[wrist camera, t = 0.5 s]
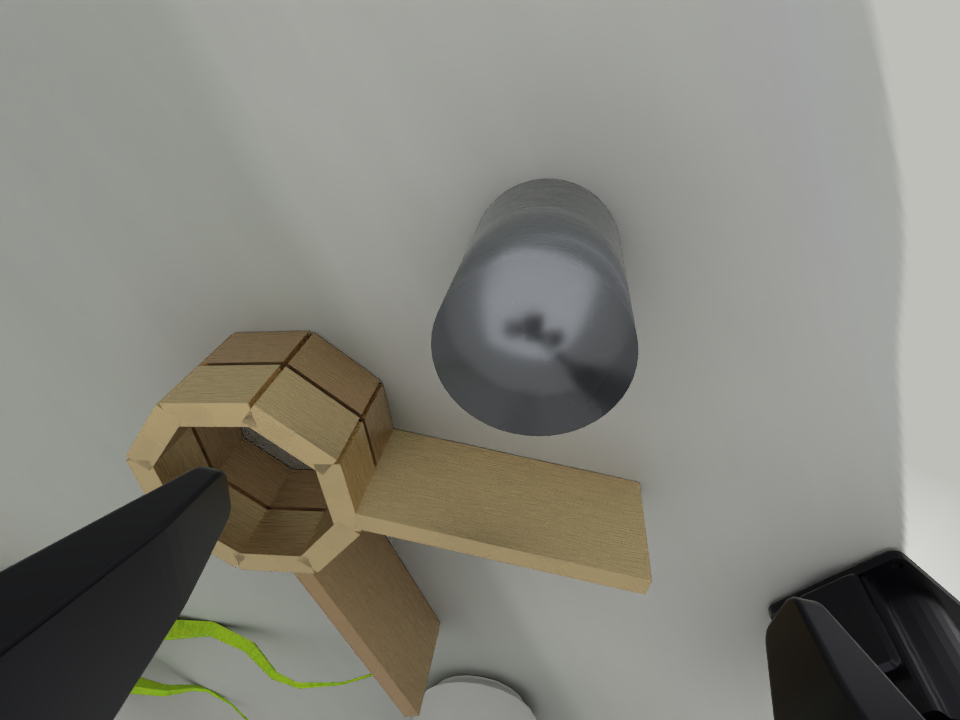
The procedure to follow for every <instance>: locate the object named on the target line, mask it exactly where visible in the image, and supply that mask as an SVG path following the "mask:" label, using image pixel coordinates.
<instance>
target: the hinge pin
mask: <svg viewBox="0 0 960 720" xmlns="http://www.w3.org/2000/svg"><path fill="white" fill-rule="evenodd" d="M431 348H432V357H433V361H434V365H435V369H436V371H437V374H438V376H439V379H440V380H441V382H442V384H443V386H444V388H445V389H446V390H447V392H448V393H449V394H450V396H451V397H452V398H453V399H454V400H455V401H456V402H457V404H458V405H459V406H460V407H462V408H463V409H464V410H465V411H466V412H468V413H469V414H470V415H472V416H473V417H475V418H476V419H478V420H480V421H482V422H484V423H486V424H487V425H489V426H492V427H494V428H497V429H500V430H503V431H506V432H510V433H514V434H520V435H529V436H550V435H557V434H563V433H567V432H571V431H574V430H577V429H580V428H582V427H585V426H587V425H589V424H591V423H593V422H595V421H596V420H598V419H599V418H601V417H602V416H604V415H605V414H606V413H608V412H609V411H610V410H611V409H612V408H613V407H614V406H615V405H616V404H617V403H618V402H619V401H620V399H621V398H622V397H623V395H624V394H625V392H626V391H627V389H628V388H629V386H630V383H631V381H632V379H633V377H634V373H635V370H636V366H637V359H638V340H637V335H636V329H635V324H634V318H633V313H632V307H631V301H630V296H629V290H628V285H627V279H626V274H625V268H624V262H623V257H622V251H621V246H620V240H619V235H618V230H617V227H616V224H615V221H614V219H613V217H612V215H611V214H610V212H609V211H608V209H607V208H606V206H605V205H604V204H603V203H602V202H601V201H600V200H599V199H598V198H597V197H596V196H595V195H594V194H592V193H591V192H590V191H588V190H586V189H585V188H583V187H581V186H579V185H576V184H574V183H571V182H567V181H564V180H557V179H539V180H532V181H528V182H525V183H522V184H519V185H517V186H515V187H513V188H511V189H509V190H508V191H506V192H504V193H503V194H502V195H501V196H499V197H498V198H497V199H496V200H495V201H494V202H493V203H492V204H491V205H490V207H489V208H488V210H487V211H486V212H485V214H484V216H483V218H482V220H481V222H480V224H479V226H478V228H477V230H476V232H475V234H474V237H473V239H472V241H471V243H470V245H469V247H468V249H467V251H466V254H465V256H464V258H463V260H462V262H461V264H460V266H459V269H458V271H457V273H456V275H455V277H454V279H453V281H452V283H451V286H450V288H449V290H448V292H447V294H446V296H445V298H444V301H443V303H442V305H441V307H440V309H439V311H438V314H437V316H436V319H435V322H434V326H433V331H432V341H431Z"/></svg>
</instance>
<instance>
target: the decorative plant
mask: <svg viewBox="0 0 960 720" xmlns="http://www.w3.org/2000/svg"><path fill="white" fill-rule="evenodd" d="M206 636H211V637H213V638H215V639H217V640H220V641H222V642H224V643H226V644H229V645H231V646H233V647H235V648H238V649H240V650H242V651H244V652H246V653H247V654H248V656H249V657H250V658H251V659H252V660H253V661H254V662H255V663H256V664H257V665H258V666H259V667H260V668H261V669H262V670H263V671H264V672H265V673H266V674H267V675H268V676H269V677H270V678H271V679H273V680H276V681H279V682H282V683H285V684H287V685H290V686H293V687H296V688H299V689H303V688H313V687H324V686H335V685H343V684H347V683H350V682H354V681H357V680H360V679H364V678H367V677H371V676H373V675H372V674H369V675H365V676H362V677H359V678H355V679H352V680H348V681H345V682H326V683H297V682H295V681H293V680H291V679H289V678H287V677H285V676H283V675H281V674H279V673H277V671H276V670H275V669H274V667H273V666H272V665H271V664H270V662H269V661H268V660H267V658H266V657H265V656H264V654H263V653H262V652H261V650H260V649H259V648H258V646H257V645H256V644H255V643H254V642H252V641H250V640H248V639H246V638H244V637H242V636H240V635H238V634H236V633H234V632H232V631H230V630H229V629H227V628H225V627H223V626H221V625H219V624H217V623H215V622H213V621H195V620H176V621H175V623H174V625H173V626H172V628H171V629H170V631H169V633H168V634H167V636H166V637H165V639H164V640H173V639H184V638H195V637H206ZM189 691H201V692H208V693H210V694H212V695H214V696H215V697H217V698H219V699H221V700H223V701H224V702H226V703H228V704H230V705H231V706H232V707H233V708H234V709H235V710H236V711H237V712H238V713H239V714H240V715H241V716H242V717H243V718H244V719H245V720H248V719H247V718H246V717H245V716H244V715H243V714H242V713H241V712H240V711H239V710H238V709H237V708H236V707H235V706H234V705H233V704H232V703H230V702H229V701H228V700H226V699H225V698H223V697H222V696H220V695H219V694H218V693H216V692H213V691H211V690H209V689H207V688H204V687H202V686H198V685H165V684H162V683H158V682H155V681H152V680H148V679H145V678H141V677H140V678H139V680H138V681H137V683H136V685H135V686H134V688H133V689H132V691H131V693H130V694H141V695H155V696H169V695H174V694H179V693H184V692H189Z"/></svg>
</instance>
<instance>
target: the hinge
mask: <svg viewBox="0 0 960 720" xmlns="http://www.w3.org/2000/svg"><path fill="white" fill-rule="evenodd" d="M379 381H380V380H379V379H378V378H376V377H375V376H374V375H372V374H371V373H370V372H368V371H367V370H365V369H364V368H363V367H361V366H360V365H358V364H357V363H356V362H354V361H353V360H352V359H350V358H349V357H347V356H346V355H345V354H343V353H342V352H340V351H339V350H338V349H336V348H335V347H333V346H332V345H331V344H329V343H328V342H327V341H325V340H324V339H322V338H321V337H320V336H318V335H317V334H315V333H313V334H312V335H311V336H310V332H309V331H283V332H245V333H235V334H233V335H231V336H230V337H229V338H228V339H226V340H225V341H224V342H223V343H222V344H221V345H220V346H219V347H218V348H217V349H216V350H215V351H214V352H212V353H211V354H210V355H209V356H208V357H207V358H206V359H205V360H204V361H203V362H202V363H201V364H200V365H199V366H198V367H197V368H195V369H194V370H193V371H192V372H191V373H190V374H189V375H188V376H187V377H185V378H184V379H183V380H182V381H181V382H180V383H179V384H178V385H177V386H176V387H175V388H174V389H173V390H171V391H170V392H169V393H168V394H167V395H166V396H165V397H164V398H163V399H162V400H161V401H160V402H159V403H157V404H156V406H155V407H154V409H153V411H152V412H151V414H150V416H149V417H148V419H147V421H146V423H145V424H144V426H143V428H142V429H141V431H140V433H139V434H138V436H137V438H136V440H135V441H134V443H133V445H132V446H131V448H130V450H129V452H128V453H127V455H126V457H128V459H127V460H126V461H127V463H128V465H129V466H130V468H131V470H132V472H133V474H134V475H135V477H136V479H137V481H138V482H139V484H140V486H141V488H142V490H143V491H144V493H145V494H147V493H149V492H151V491H152V490H154V489H156V488H158V487H160V486H162V485H164V484H166V483H167V482H169V481H171V480H173V479H175V478H177V477H179V476H181V475H182V474H184V473H186V472H188V471H190V470H192V469H194V468H196V467H199V466H206V467H210V468H215V469H219V470H222V471H224V472H225V473H226V475H227V479H228V486H229V493H230V500H231V512H230V516H229V519H228V521H227V523H226V525H225V527H224V529H223V531H222V533H221V535H220V537H219V539H218V541H217V543H216V545H215V547H214V549H213V551H212V553H211V554H213V555H215V556H217V557H218V558H220V559H222V560H223V561H225V562H227V563H229V564H230V565H232V566H234V567H235V568H236V567H237V566H238V565H239V567H240V569H244V570H262V571H279V572H293V573H294V574H295V575H296V577H297V578H298V579H299V580H300V582H301V583H302V584H303V586H304V587H305V588H306V590H307V591H308V592H309V593H310V595H311V596H312V597H313V599H314V600H315V601H316V602H317V604H318V605H319V606H320V608H321V609H322V610H323V611H324V613H325V614H326V615H327V617H328V618H329V619H330V621H331V622H332V623H333V624H334V626H335V627H336V628H337V630H338V631H339V632H340V633H341V635H342V636H343V637H344V639H345V640H346V641H347V642H348V644H349V645H350V646H351V648H352V649H353V650H354V652H355V653H356V654H357V655H358V657H359V658H360V659H361V661H362V662H363V663H364V664H365V666H366V667H367V668H368V670H369V671H370V672H371V673H372V675H373V676H374V677H375V679H376V680H377V681H378V683H379V684H380V685H381V686H382V688H383V689H384V690H385V692H386V693H387V694H388V695H389V697H390V698H391V699H392V701H393V702H394V703H395V704H396V706H397V707H398V708H399V710H400V711H401V712H402V714H403V715H404V716H405V717H408V716H419V715H420V710H421V706H422V702H423V697H424V693H425V688H426V684H427V680H428V675H429V671H430V666H431V662H432V658H433V653H434V649H435V644H436V640H437V636H438V631H439V627H440V622H439V620H438V619H437V617H436V615H435V614H434V612H433V611H432V609H431V608H430V606H429V604H428V603H427V601H426V600H425V598H424V597H423V595H422V593H421V592H420V590H419V589H418V587H417V586H416V584H415V582H414V581H413V579H412V578H411V576H410V575H409V573H408V571H407V570H406V568H405V567H404V565H403V563H402V562H401V560H400V559H399V557H398V556H397V554H396V552H395V551H394V549H393V548H392V546H391V545H390V543H389V541H388V540H387V538H386V537H385V535H386V536H390V537H395V538H399V539H404V540H408V541H412V542H417V543H421V544H426V545H430V546H434V547H439V548H443V549H448V550H452V551H456V552H461V553H465V554H470V555H474V556H478V557H483V558H487V559H492V560H496V561H500V562H505V563H509V564H514V565H518V566H522V567H527V568H531V569H536V570H540V571H544V572H549V573H553V574H558V575H562V576H566V577H571V578H575V579H579V580H584V581H588V582H593V583H597V584H601V585H606V586H610V587H615V588H619V589H623V590H628V591H632V592H637V593H641V594H646V592H647V590H648V588H649V586H650V584H651V582H652V577H651V569H650V561H649V553H648V546H647V538H646V530H645V522H644V514H643V507H642V499H641V491H640V483H639V482H635V481H630V480H626V479H621V478H616V477H612V476H607V475H603V474H598V473H594V472H589V471H584V470H580V469H575V468H571V467H566V466H562V465H557V464H552V463H548V462H543V461H539V460H534V459H530V458H525V457H520V456H516V455H511V454H507V453H502V452H497V451H493V450H488V449H484V448H479V447H475V446H470V445H465V444H461V443H456V442H452V441H447V440H443V439H438V438H433V437H429V436H424V435H420V434H415V433H411V432H406V431H401V430H397V429H393V425H392V421H391V416H390V412H389V408H388V404H387V399H386V395H385V391H384V387H383V384H378V383H379ZM239 427H250V428H251V429H253V430H254V431H256V432H257V433H259V434H260V435H262V436H263V437H265V438H266V439H268V440H269V441H271V442H273V443H274V444H276V445H277V446H279V447H280V448H282V449H283V450H285V451H286V452H288V453H289V454H291V455H292V456H294V457H296V458H297V459H299V460H300V461H302V462H303V463H305V464H306V465H308V466H309V467H311V468H312V469H314V470H298V469H291V468H289V467H288V466H286V465H285V464H283V463H282V462H280V461H278V460H277V459H275V458H274V457H272V456H271V455H269V454H268V453H266V452H265V451H263V450H261V449H260V448H258V447H257V446H255V445H254V444H252V443H251V442H249V441H248V440H246V439H244V438H243V435H242V433H241V430H240V428H239Z"/></svg>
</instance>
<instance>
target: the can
mask: <svg viewBox="0 0 960 720" xmlns="http://www.w3.org/2000/svg"><path fill="white" fill-rule="evenodd" d="M414 720H536V718H535V716H534V714H533V713H532V711H531V710H530V708H529V707H528V706H527V705H526V704H525V703H524V702H523V700H522V699H521V697H520V695H519V694H517V693H516V692H515V691H514V690H513V689H511V688H510V687H508V686H506V685H504V684H502V683H500V682H498V681H495V680H492V679H488V678H485V677H480V676H470V675H464V676H453V677H450V678H447V679H444V680H442V681H441V682H440V683H438V684H437V685H435V686H433V687H431V688H430V689H428V690H427V691H426V692H425V693H424V697H423V702H422V706H421V710H420V715H419V716H415V718H414Z"/></svg>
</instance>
